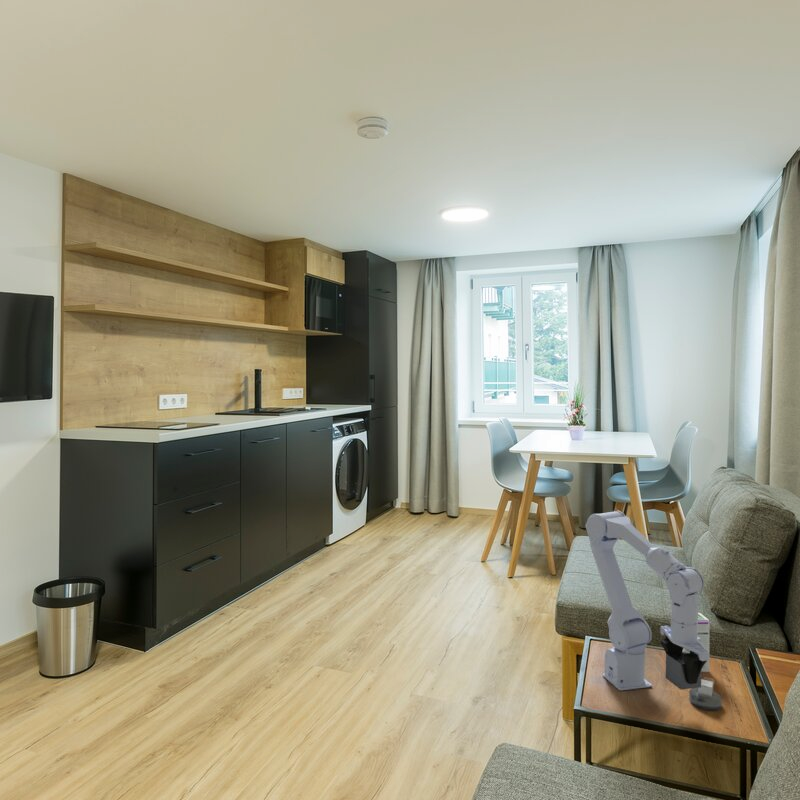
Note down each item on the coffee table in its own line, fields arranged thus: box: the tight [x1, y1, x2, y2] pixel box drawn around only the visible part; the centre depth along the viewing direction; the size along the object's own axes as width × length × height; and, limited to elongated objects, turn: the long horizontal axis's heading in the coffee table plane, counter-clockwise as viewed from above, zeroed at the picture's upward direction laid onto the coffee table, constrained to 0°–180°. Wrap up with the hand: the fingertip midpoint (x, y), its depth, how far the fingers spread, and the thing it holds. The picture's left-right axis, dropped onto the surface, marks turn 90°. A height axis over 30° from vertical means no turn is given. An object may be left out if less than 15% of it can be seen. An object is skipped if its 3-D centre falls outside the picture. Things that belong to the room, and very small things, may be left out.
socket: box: [665, 652, 702, 691], centre depth 137 cm, size 5×5×6 cm
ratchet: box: [688, 676, 723, 712], centre depth 144 cm, size 14×7×5 cm, turn 147°
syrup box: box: [682, 611, 710, 673], centre depth 158 cm, size 6×6×14 cm
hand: (683, 676), depth 137 cm, fingers closed on socket, 5 cm apart
